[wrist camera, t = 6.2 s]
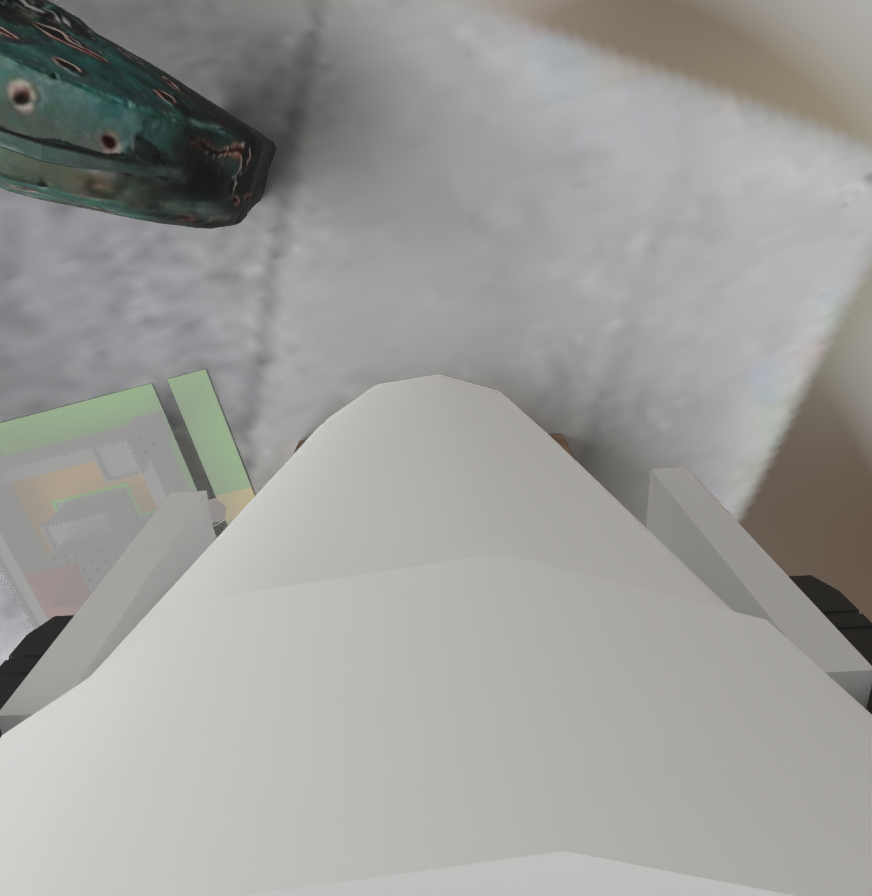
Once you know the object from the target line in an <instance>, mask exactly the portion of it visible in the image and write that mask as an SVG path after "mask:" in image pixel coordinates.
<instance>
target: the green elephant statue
mask: <svg viewBox="0 0 872 896" xmlns="http://www.w3.org/2000/svg"><path fill="white" fill-rule="evenodd" d="M275 149H276V147H275V145H274V143H273V142H271V141H269V140H268V139H267V138H266V137H264V136H263V135H262V134H260V133H259V132H257V131H256V130H255V129H253V128H251V127H250V126H248V125H246V124H244V123H243V122H241V121H239V120H238V119H236V118H235V117H233V116H232V115H230V114H229V113H227V112H226V111H224V110H223V109H221V108H220V107H218V106H217V105H215V104H214V103H212V102H210V101H209V100H207V99H206V98H204V97H203V96H201V95H199V94H198V93H196V92H195V91H193V90H192V89H190V88H189V87H187V86H186V85H184V84H182V83H181V82H179V81H178V80H176V79H175V78H173V77H172V76H170V75H169V74H167V73H165V72H164V71H162V70H160V69H159V68H157V67H155V66H154V65H152V64H150V63H149V62H147V61H145V60H144V59H142V58H140V57H138V56H136V55H134V54H132V53H131V52H129V51H127V50H125V49H124V48H122V47H120V46H118V45H117V44H115V43H113V42H111V41H110V40H108V39H106V38H104V37H102V36H100V35H98V34H97V33H95V32H94V31H92V30H91V29H90V28H89V27H88V26H87V25H86V24H85V23H84V22H83V21H82V20H80V19H79V18H78V17H76V16H74V15H72V14H70V13H68V12H67V11H65V10H64V9H62V8H60V7H58V6H57V5H55V4H53V3H51V2H49V1H47V0H0V188H2V189H5V190H8V191H11V192H14V193H18V194H22V195H26V196H30V197H33V198H37V199H41V200H46V201H50V202H55V203H60V204H66V205H71V206H76V207H81V208H86V209H91V210H96V211H101V212H105V213H110V214H115V215H119V216H124V217H130V218H135V219H140V220H145V221H151V222H156V223H163V224H172V225H182V226H187V227H194V228H210V229H211V228H217V227H224V226H231V225H235V224H238V223H240V222H241V221H242V220H243V219H244V218H245V217H246V216H247V213H248V212H249V211H250V209H251V208H252V207H253V206H254V205H255V204H256V203H258V202H259V201H260V199H261V197H262V195H263V191H264V187H265V183H266V178H267V173H268V169H269V166H270V164H271V161H272V158H273V155H274V152H275Z"/></svg>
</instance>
